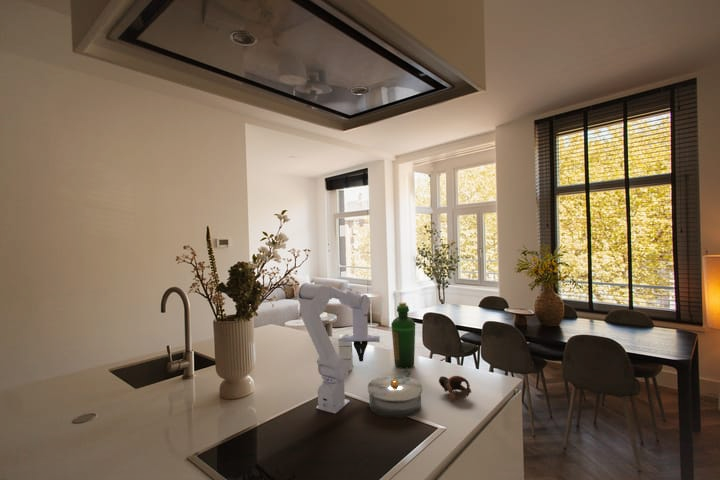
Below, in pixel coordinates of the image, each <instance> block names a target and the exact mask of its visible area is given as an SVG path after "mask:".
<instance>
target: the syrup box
mask: <svg viewBox="0 0 720 480" xmlns="http://www.w3.org/2000/svg"><path fill="white" fill-rule="evenodd" d="M351 335H352V333H350V334H349V333H343V334H339V335H338V338H337V340H338V341H337V342H338V344H337V345H338V354H339V355H340V356H341V357H343V359H344V361H345V362H347V363H348V366H349V372H350V371H353V367H354V359H353V358H354V357H353V342H342V336H351Z"/></svg>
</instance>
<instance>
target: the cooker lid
mask: <svg viewBox="0 0 720 480" xmlns="http://www.w3.org/2000/svg"><path fill="white" fill-rule="evenodd" d="M411 374H412V370H411V369H404V370H403V371H402V372H401V373H400V375H397V374H396V375H390V374H389V375H384V376H383V375H381V376H379V377H376V378H374V379H372V380H371V381H370V382H368V384H367V392H368V394H370V395H371V396H372V397H374V398H376V399H378V400H381V401H386V402H406V401H410V400H413V399H415V398H417V397H419V396H420V395H421V396H422V393H423V386H422V384H421V382H420V381H418V380H417V379H415V378H412V377H410V376H411Z"/></svg>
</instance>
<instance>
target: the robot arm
mask: <svg viewBox="0 0 720 480" xmlns="http://www.w3.org/2000/svg"><path fill="white" fill-rule="evenodd" d="M296 299H297V301H298V302H299V303H298V304H299V305H300V315H301V318H302V323H304V326H305V328H306V330H307V332H308V335H309V337H310V339H311V341H312V343H313V345H314V347H315V350H316V352H317V354H318V358H317V360H316V363H317V372H318V375H321V379H322V380H323V381H322V383H321V385H320V386H319V387H318V389H317V406H316V407H315V409H317V410H321V411H324V412H328V413H332V414H336V413H338V412H339V411H340V410H342V409H343V408H344V407H346V405H347V404H349V403H350V402H351V400H349V399H346V398H345V397H346V395H345V380H346V379H347V377H348V376H349V372H350V371H349V366H348V363H347V362H345V361H344V359H343V357H341V356H340V355H339V352H336V349H335V347H334V345H333V343H332V340H331V338H330V336H329V334H328V332H327V329H326V327H325V325H324V322H323V320H322V317H321V315H322V314H323V313H324V312H325V309H326V308H327V306H328V304H329V302H330V300H332V299H335V300H339V303H340V304H341V305H344V306H347V307H349V308H350V309H352V313H351V314H352V334H351V336H342V342H352V346H353V347H354V349H355V352H356V353H357V356H358V360H359V362H364V357H365V355H364V354H365V352H366V349H367V347H368V343H380V342H381V341H380V337H381V336H380V335H371V334H369V330H368V329H369V325H368V322H369V321H368V320H369V319H368V314H369V310H370V309H369V308H370V305H371V301H370V297H369V296H368V295H367V294H360V292H359V291H354V290H353V289H352V288H344V289H342V290H341V289H339V288H337V287H334V286H332V285H328V284H316V283H315V284H313V283H308V282H305V283H303V284H301V285H300V287H299V289H298V291H297V295H296Z"/></svg>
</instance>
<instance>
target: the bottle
mask: <svg viewBox="0 0 720 480" xmlns="http://www.w3.org/2000/svg"><path fill="white" fill-rule="evenodd" d="M398 304H399V305H397V307H396V312H397V314H398V316H397V317H396V318H394V319H393V320H392V322H391V324H390V325H391V335H392V336H391V337H392V348H393V359H394V366H395V367H396V368H399V369H404V370H407V369H411V368H413V367H414V366H415V351H416V349H415V348H416V346H415V345H416V322H415V321H414V320H413V319H412V318H411V317H409V315H408V314H409V312H410V308H409V305H408V304H407V302H398Z"/></svg>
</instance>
